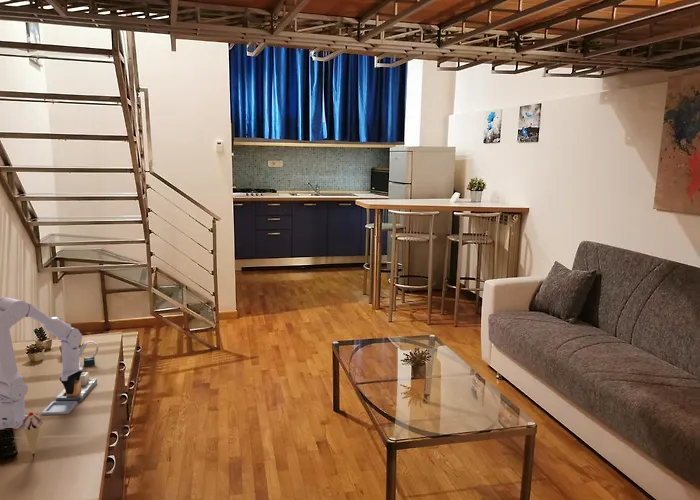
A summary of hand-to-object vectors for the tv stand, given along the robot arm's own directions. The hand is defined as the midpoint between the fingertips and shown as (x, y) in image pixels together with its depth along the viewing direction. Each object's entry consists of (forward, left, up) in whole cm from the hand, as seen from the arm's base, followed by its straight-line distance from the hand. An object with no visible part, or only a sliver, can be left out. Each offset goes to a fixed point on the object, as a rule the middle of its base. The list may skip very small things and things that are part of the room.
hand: (72, 391), depth 202 cm
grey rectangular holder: (+5, 0, -3) cm, 6 cm away
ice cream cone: (-42, -4, -3) cm, 42 cm away
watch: (+36, +6, -3) cm, 37 cm away
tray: (-9, +1, -3) cm, 10 cm away
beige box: (+10, 0, -3) cm, 10 cm away
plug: (0, 0, -2) cm, 2 cm away
